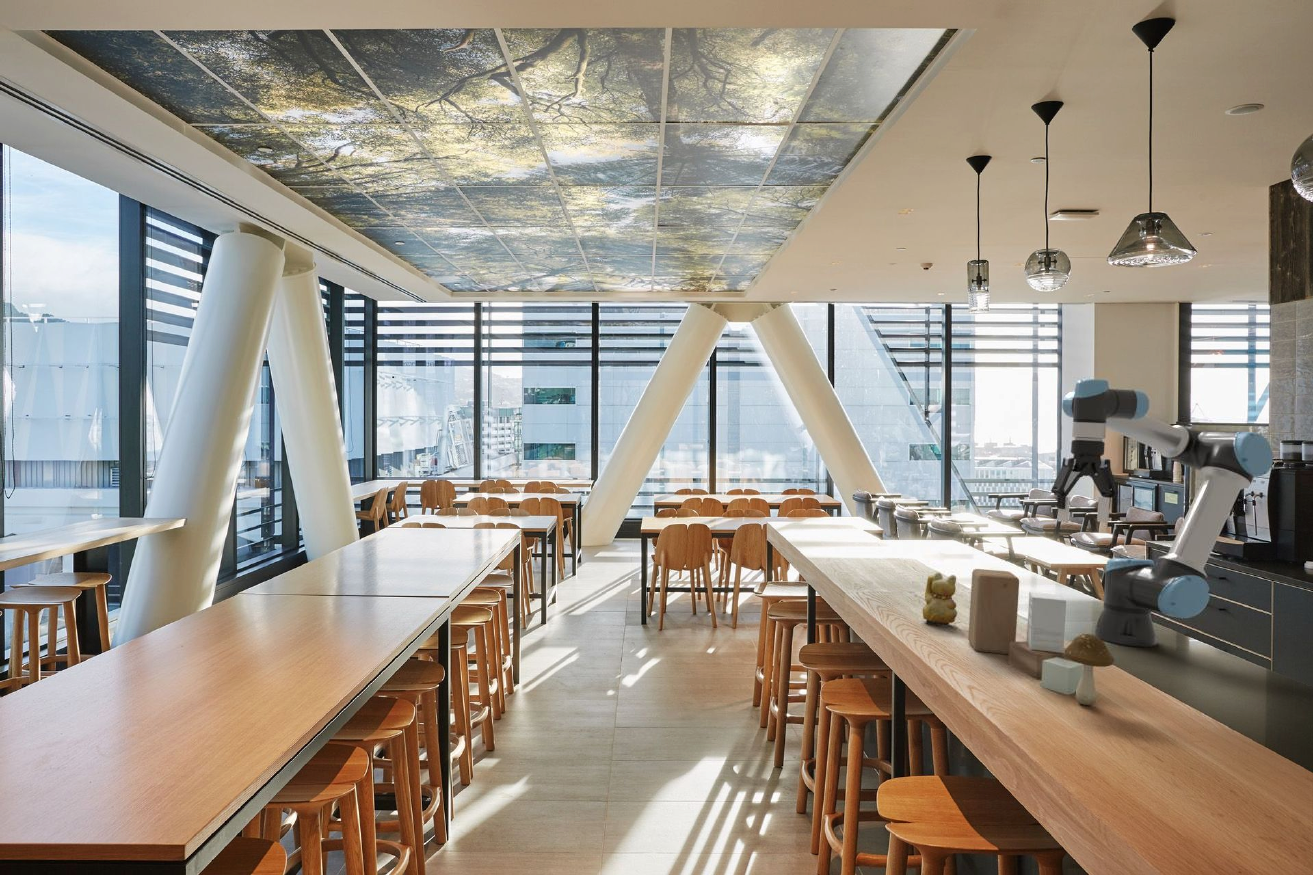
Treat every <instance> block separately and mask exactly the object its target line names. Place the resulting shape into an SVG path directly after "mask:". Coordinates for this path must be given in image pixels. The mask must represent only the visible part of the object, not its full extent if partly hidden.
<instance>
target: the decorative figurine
mask: <svg viewBox="0 0 1313 875" xmlns="http://www.w3.org/2000/svg"><path fill="white" fill-rule="evenodd" d="M926 580H927V582H926V587H925V591H924V601H925V604H924V605H923V607H922V618H923V620H926V622H925V624H926V625H928V624H929V625H933V626H936V627H946V626H948V625H950V624H952V623H955V621H956V618H957V615H958V611H957V609H956V608H957V603H956V602H955V600H954V599H953V597H952V596H954V595H955V593H956V591H957V590H956V589H957V588H956V582H957V576H956V575H954V574H951V575H949V576H948V577H947V578H943V574H942V573H941V572H940V571H936V572H934V574H933V575H929V576H928V577H927V579H926Z"/></svg>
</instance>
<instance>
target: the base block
mask: <svg viewBox="0 0 1313 875" xmlns="http://www.w3.org/2000/svg"><path fill="white" fill-rule="evenodd" d="M1066 648H1067V647H1064V649H1063V653H1057V652H1048V651H1040V650H1031V649H1030V648H1029V646H1028V644H1027V641H1016V642H1012V641H1010V647H1009V654H1008V665H1009V666H1011V667H1013V668H1014V669H1016V670H1018V671H1020V672H1022V673H1024V674H1025V675H1028V676H1030V677H1032V678H1034V679H1035V680H1042V665H1043V660H1047V659H1051V658H1055V657H1058V658H1062V659H1065V660H1069V661H1073V660H1071V659H1069V658H1067V657H1066V655H1065V652H1064V651H1065V649H1066ZM1073 662H1075V661H1073ZM1076 663H1077V662H1076Z"/></svg>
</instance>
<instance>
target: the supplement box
mask: <svg viewBox="0 0 1313 875" xmlns="http://www.w3.org/2000/svg"><path fill="white" fill-rule="evenodd" d="M1066 611H1067V600H1066V599H1065V598H1064V597H1063V595H1062V594H1055V593H1044V592H1034V591H1029V593H1028V611H1027V612H1028V613H1027V627H1026V629H1027V630H1026V642H1027V644H1028V646H1029V648H1030V649H1031V650H1040V651H1048V652H1057V653H1063V649H1064V648H1065V647H1064V645H1065V627H1066V614H1067V613H1066Z"/></svg>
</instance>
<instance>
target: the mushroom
mask: <svg viewBox="0 0 1313 875" xmlns="http://www.w3.org/2000/svg"><path fill="white" fill-rule="evenodd" d="M1065 648H1066V649H1065V651H1064V652H1065V655H1066V657H1067V658H1069V659H1071V660H1073V661H1075V662H1077V663H1080V664H1083V674H1082V677H1081V679H1080V682H1079V685H1078V688H1077V690H1076V693H1075V699H1076V702H1078V704H1081V705H1084V706H1092V705H1094V704H1095V702H1096V700H1097V692H1096V685H1095V679H1094V678H1095V677H1094V667H1098V668H1102V667H1103V668H1106V667H1110V666H1112V665H1113V664H1114V662H1115V659H1114V657H1113V655H1112V654H1111V652H1110V650H1108V648H1107V646H1106V644H1105V642H1104V640H1103V639H1100V638H1098V637H1097V636H1095V634H1092V633H1091V634H1090V633H1084V634H1083V633H1082V634H1080V635H1078V636H1076V637H1074V639H1073V640H1072V642H1071V643H1070V644H1069V645H1068V646H1067V647H1065Z"/></svg>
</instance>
